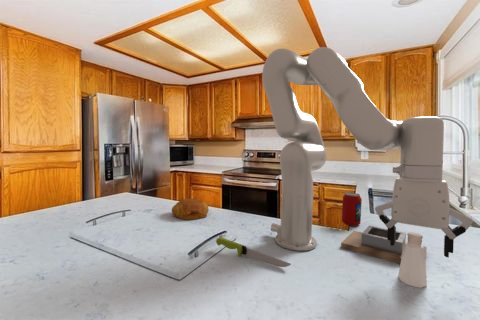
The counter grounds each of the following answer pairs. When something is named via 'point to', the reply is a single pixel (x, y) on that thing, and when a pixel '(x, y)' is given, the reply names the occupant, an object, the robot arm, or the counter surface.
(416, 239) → the salt shaker
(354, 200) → the beverage can
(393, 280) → the counter surface
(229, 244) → the kitchen knife
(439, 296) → the counter surface
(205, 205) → the round bread loaf
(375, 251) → the walnut board
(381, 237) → the metal socket
